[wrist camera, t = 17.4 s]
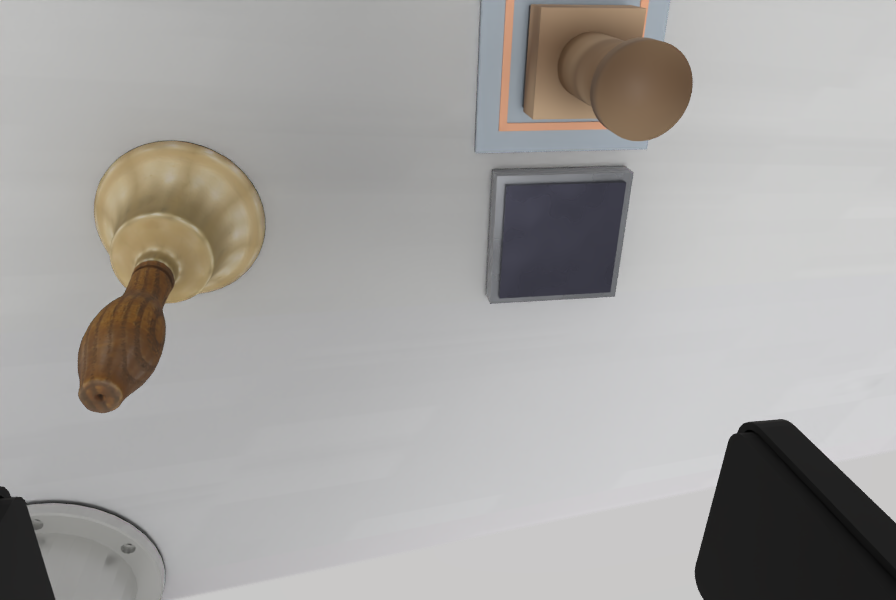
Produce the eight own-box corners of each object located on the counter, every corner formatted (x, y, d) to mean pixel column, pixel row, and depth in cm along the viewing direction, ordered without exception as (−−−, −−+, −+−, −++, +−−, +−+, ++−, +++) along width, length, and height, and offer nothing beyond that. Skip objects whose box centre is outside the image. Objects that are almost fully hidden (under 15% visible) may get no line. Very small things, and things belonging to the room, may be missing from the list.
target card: (644, 147, 38) (647, 149, 37) (474, 151, 36) (476, 153, 36) (674, -47, 33) (678, -46, 33) (482, -51, 32) (484, -51, 32)
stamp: (612, 107, 36) (694, 154, 28) (520, 108, 35) (577, 157, 27) (626, 4, 34) (718, 23, 26) (527, 3, 33) (592, 23, 25)
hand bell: (143, 106, 33) (11, 230, 19) (295, 199, 36) (279, 364, 22) (66, 240, 35) (-103, 440, 21) (215, 317, 38) (155, 533, 24)
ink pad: (607, 287, 41) (616, 298, 40) (485, 294, 40) (491, 306, 39) (624, 166, 38) (635, 174, 37) (492, 169, 37) (498, 178, 36)
